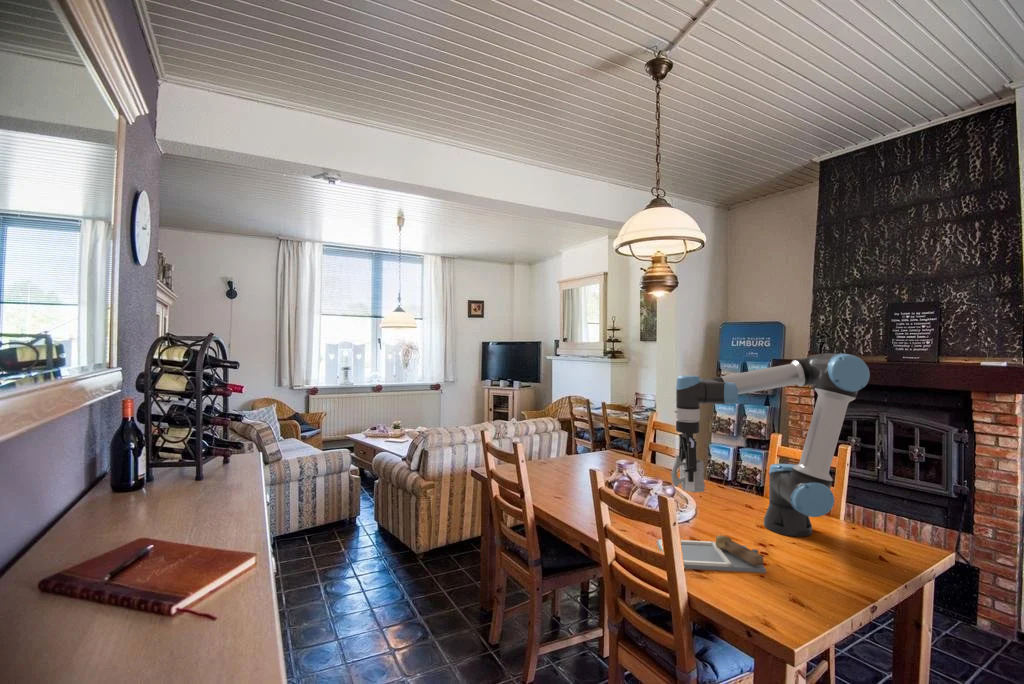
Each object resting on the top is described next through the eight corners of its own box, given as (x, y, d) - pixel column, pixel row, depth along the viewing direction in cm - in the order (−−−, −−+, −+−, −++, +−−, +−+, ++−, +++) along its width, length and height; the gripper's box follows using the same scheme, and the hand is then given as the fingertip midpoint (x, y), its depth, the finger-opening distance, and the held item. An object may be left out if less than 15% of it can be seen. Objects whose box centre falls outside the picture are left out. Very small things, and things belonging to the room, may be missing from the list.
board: (744, 549, 155) (745, 535, 155) (765, 572, 140) (766, 557, 140) (656, 545, 158) (656, 531, 158) (666, 567, 142) (667, 552, 142)
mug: (709, 492, 161) (709, 456, 162) (677, 493, 159) (677, 457, 159) (696, 485, 169) (697, 451, 169) (665, 487, 167) (666, 452, 167)
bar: (712, 544, 154) (712, 536, 154) (723, 542, 155) (723, 534, 155) (753, 566, 138) (754, 558, 138) (765, 564, 140) (765, 555, 140)
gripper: (670, 415, 175) (669, 478, 175) (683, 425, 155) (682, 496, 155) (691, 416, 174) (690, 479, 174) (707, 426, 154) (706, 497, 154)
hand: (687, 487), depth 165 cm, fingers closed on mug, 7 cm apart
